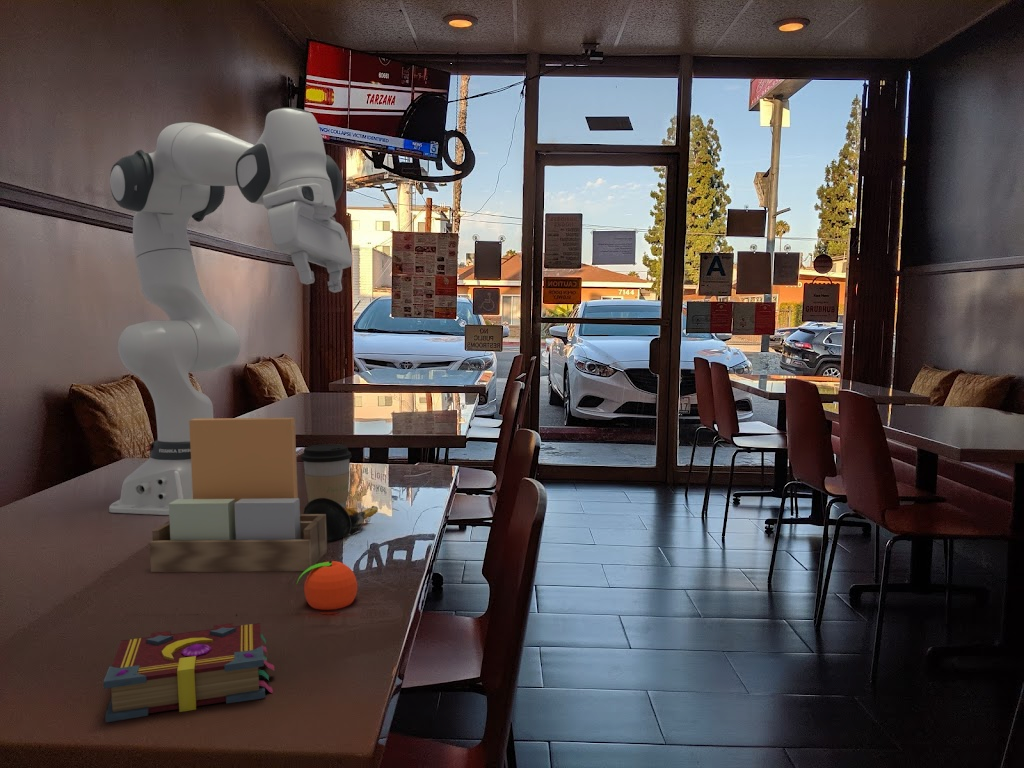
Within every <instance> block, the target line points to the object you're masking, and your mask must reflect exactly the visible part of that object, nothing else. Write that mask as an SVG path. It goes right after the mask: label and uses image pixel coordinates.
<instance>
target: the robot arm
mask: <svg viewBox="0 0 1024 768" xmlns="http://www.w3.org/2000/svg"><path fill="white" fill-rule="evenodd" d="M260 135H261V136H260V137H259V138H258V140H257V141H256V143H255V144H252V143H250V142H247V141H245V140H243V139H241V138H238V137H236V136H234V135H231V134H230V133H227V132H225V131H223V130H221V129H218V128H216V127H213V126H210V125H207V124H203V123H199V122H189V121H188V122H177V123H173V124H169V125H167V126H166V127H165V128H163V129H162V130H161V131H160V133H159V135H158V136H157V140H156V146H155V147H156V148H155V150H154V151H153V152H148V153H147V152H144V150H143V149H138V150H136V151H135V152H134V153H133V154H130V155H126V156H124V157H121V158H120V159H119V160H117V161H116V162H115V163H114V164H113V165H112V167H111V170H110V175H109V185H110V192H111V196H112V198H113V200H114V201H115V202H116V204H117V205H118V206H119V207H120V208H122V209H126V210H128V211H132V212H135V214H133V219H132V240H133V243H132V244H133V251H134V256H135V261H136V262H135V263H136V267H137V272H138V273H137V274H138V278H139V282H140V287H141V292H142V294H143V296H144V297H145V299H146V300H147V301H149V302H150V303H151V304H153V305H155V306H156V307H158V308H160V309H161V310H162V311H163V312H164V313H165V314H166V315H167V317H168V318H169V319H168V320H166V319H165V320H148V321H147V320H146V321H144V322H142V321H141V322H139V323H134V324H130V325H129V326H126V327H125V328H124V329H123V331H122V332H121V334H120V336H119V338H118V341H117V342H118V343H117V352H118V357H119V359H120V361H121V363H122V364H123V366H124V367H125V368H126V369H127V370H128V371H130V372H131V373H133V374H134V375H136V376H137V377H138V378H139V379H140V380H141V382H142V383H143V384H144V385H145V387H146V388H147V390H148V392H149V393H150V396H151V399H152V400H153V405H154V411H155V420H156V421H155V422H156V431H157V432H156V434H157V439H156V440H154V441H153V442H151V443H150V444H148V445H146V446H145V448H146V449H145V451H146V452H149V458H148V459H147V460H146V461H144V462H143V463H142V464H141V465H140V466H138V467H137V468H136V469H134V471H133V472H131V473H130V474H128V475H127V476H126V477H125V478H124V480H123V483H122V486H121V491H120V498H119V499H117V500H115V501H114V502H112V503H111V504H110V505H109V509H108V511H109V513H116V514H135V515H136V514H137V515H138V514H139V515H140V514H141V515H159V516H169V503H171V502H173V501H175V500H177V499H193V489H192V468H191V447H190V426H189V420H192V419H208V418H214V406H213V402H212V400H211V399H210V397H209V396H208V395H207V394H206V393H204V392H202V391H200V390H197V389H196V388H195V387H194V386H193V384H192V382H191V379H190V376H189V373H195V372H197V373H198V372H211V371H215V370H219V369H222V368H225V367H228V366H231V365H232V364H234V363H235V361H236V360H237V358H238V357H239V354H240V351H241V340H240V336H239V334H238V332H237V330H236V329H235V328H234V326H233V325H231V324H230V323H229V322H226V321H225V320H224V319H223V318H222V317H221V316H219V314H217V312H216V311H215V310H214V308H212V306H211V305H210V303H209V302H208V301H207V298H206V297H205V294H204V293H203V291H202V288H201V286H200V283H199V278H198V275H197V271H196V265H195V260H194V257H193V252H192V251H193V250H192V247H191V244H190V240H189V239H190V238H189V236H188V227H187V226H188V223H189V220H190V218H191V217H192V219H193V220H194V221H195V222H198V223H200V222H202V221H203V220H204V218H205V217H206V216H208V215H211V214H212V213H214V212H215V211H216V210H217V209H218V208H219V207H220V206H221V205H222V203H223V202H224V198H225V193H226V190H225V189H226V188H225V187H232V186H237V187H238V188H239V191H240V192H241V194H242V196H243V198H245V199H246V200H247V201H248V202H249V203H253V204H257V205H260V206H261V205H262V206H264V208H265V209H266V210H267V221H268V226H269V231H270V235H271V239H272V242H273V245H274V246H275V248H276V249H277V251H278V252H279V253H283V254H286V255H289V256H290V257H291V262H292V264H293V265H294V267H295V269H296V271H297V273H298V277H299V278H298V279H299V281H300V283H301V284H304V285H310V284H311V285H312V284H314V283H315V280H316V279H315V273H314V271H313V270H311V267H310V264H309V263H311V264H316V265H317V266H320V267H323V268H326V270H327V273H328V274H329V278H328V279H329V281H328V280H327V286H328V290H329V292H331V293H339V292H341V291H342V290H343V285H342V279H343V278H342V277H343V272H344V271H343V270H344V269H347V268H350V267H352V264H353V257H352V252H351V249H350V244H349V239H348V236H347V233H346V231H345V229H344V226H343V225H342V224H340V223H339V222H337V221H336V217H334V215H335V214H336V213H337V208H336V207H337V206H336V203H337V201H338V200H339V199H340V197H341V195H342V193H343V190H344V179H343V175H342V172H341V170H340V168H339V166H338V164H337V163H336V161H335V160H334V159H333V158H332V157H331V155H328V154H326V148H325V144H324V139H323V136H322V132H321V130H320V126H319V123H318V121H317V119H316V117H315V116H314V114H313V113H312V112H310V111H308V110H305V109H302V108H297V107H279V108H274V109H273V110H271V111H269V112H268V113H267V114H266V116H265V122H264V128H263V132H262V134H260Z"/></svg>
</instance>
